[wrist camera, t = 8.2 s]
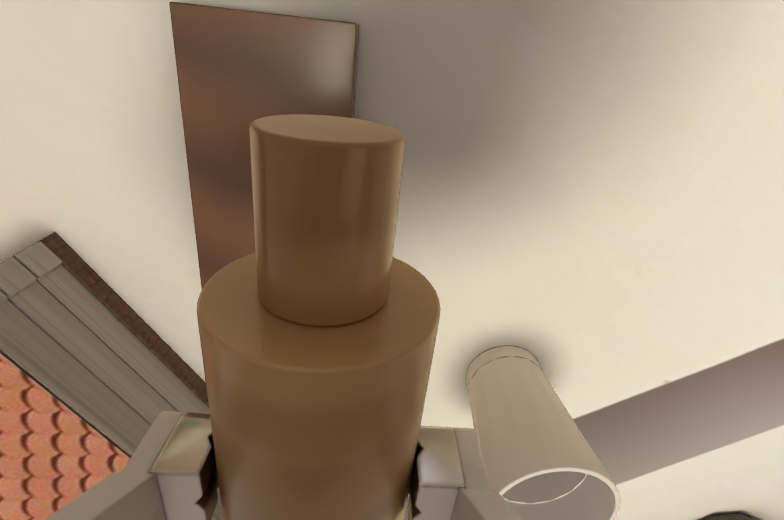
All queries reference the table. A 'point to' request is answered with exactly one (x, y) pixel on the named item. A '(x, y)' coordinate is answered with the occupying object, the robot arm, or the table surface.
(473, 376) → the cup
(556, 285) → the table surface
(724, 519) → the bottle
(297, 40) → the board
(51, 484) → the model house
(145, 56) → the table surface
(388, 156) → the rolling pin
